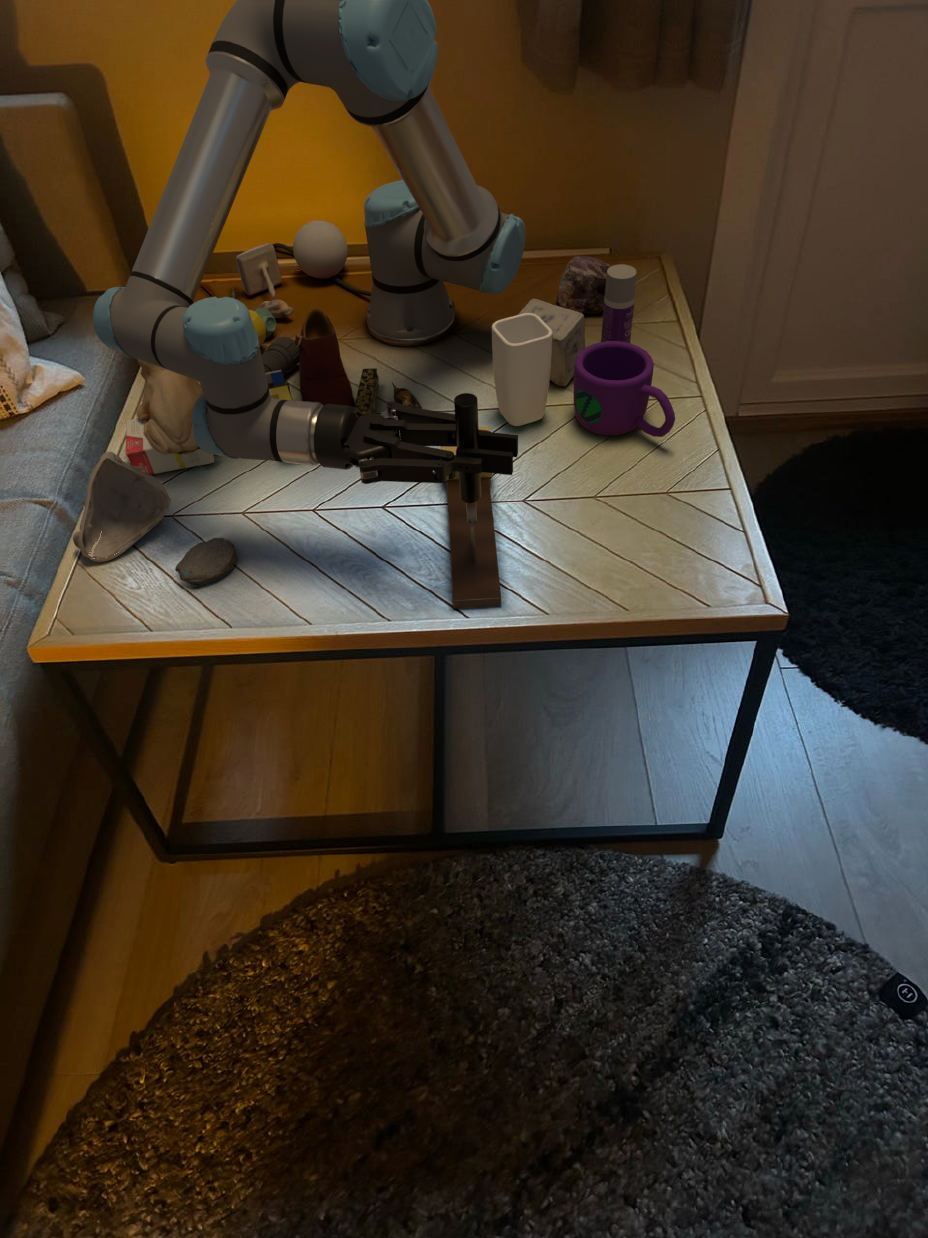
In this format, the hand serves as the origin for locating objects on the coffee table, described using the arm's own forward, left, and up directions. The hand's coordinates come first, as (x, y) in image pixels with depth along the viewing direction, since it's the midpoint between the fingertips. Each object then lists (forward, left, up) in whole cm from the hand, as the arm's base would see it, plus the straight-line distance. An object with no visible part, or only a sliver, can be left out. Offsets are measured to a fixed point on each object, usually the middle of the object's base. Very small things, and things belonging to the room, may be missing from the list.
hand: (514, 454), depth 105 cm
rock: (-32, +57, -18) cm, 68 cm away
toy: (-51, +3, -14) cm, 53 cm away
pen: (-82, +18, -18) cm, 85 cm away
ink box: (-58, -20, -16) cm, 63 cm away
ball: (-78, +36, -18) cm, 87 cm away
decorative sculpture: (-78, +21, -18) cm, 83 cm away
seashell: (-43, -31, -11) cm, 54 cm away
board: (-10, +2, -18) cm, 21 cm away
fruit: (-67, +11, -18) cm, 71 cm away
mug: (-6, +33, -18) cm, 38 cm away
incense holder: (-25, +37, -18) cm, 48 cm away
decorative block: (-39, +10, -18) cm, 44 cm away
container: (-19, +47, -18) cm, 54 cm away
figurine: (-54, -13, -13) cm, 57 cm away
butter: (-18, +10, -17) cm, 26 cm away
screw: (-73, +15, -13) cm, 75 cm away
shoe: (-48, +10, -18) cm, 52 cm away
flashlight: (-57, +5, -18) cm, 60 cm away
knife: (-5, -3, -16) cm, 17 cm away
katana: (-88, +20, -17) cm, 91 cm away
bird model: (-33, +15, -18) cm, 41 cm away
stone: (-30, -25, -19) cm, 44 cm away
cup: (-20, +25, -18) cm, 37 cm away
